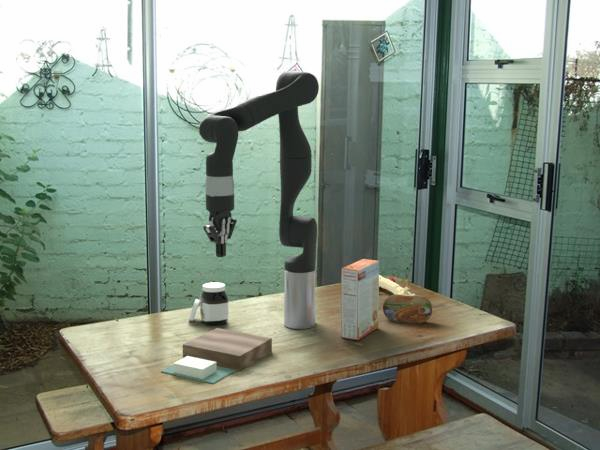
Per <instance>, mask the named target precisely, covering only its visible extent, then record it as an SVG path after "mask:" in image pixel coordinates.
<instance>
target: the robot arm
mask: <svg viewBox="0 0 600 450" xmlns="http://www.w3.org/2000/svg"><path fill="white" fill-rule="evenodd" d="M319 85H320V84H319V81H318V78H317V77H316V76H315V75H314V74H313V73H311V72H306V71H294V70H293V71H292V70H291V71H290V70H289V71H288V70H287V71H283V72H281V73H280V74H279V75H278V77H277V80H276V85H275V91H272V92H269V93H265V94H260V95H256V96H254V97H251V98H249V99H247V100H244V101H243V102H240V103H238V104H236V105H235V106H233V107H230V108H227V109H223V110H219V111H216V112H214V113H211V114H209V115H207V116H206V117H204V119H202V121H201V122H200V124H199V127H198V128H199V129H198V131H199V132H198V133H199V136H200V137H201V138H202V140H204V141H205V142H207V143H212V144H215V148H214V151H213V152H210V153H208V154H207V155H206V157H205V184H204V185H205V186H204V187H205V190H204V191H205V209H206V211H207V212H209V216H208V224H207V225H205V224H204V225H203V230H204V232H205V234H206V236H207V238H208V239H209V241H210V242H211V243H214V244H215V255H216V257H217V258H224V257H226V255H227V242H228V240H230V239H231V237H232V236H233V233H234V230H235V228H236V224H237V222H238V220H237V219H236V218H233V217H232V214H233V213H232V212H233V211H234V210H235V181H234V164H233V163H234V161H233V160H234V156H235V153H236V148H237V144H238V140H239V132H245V131H247V130H250V129H251V128H253V127H255V126H257V125H259V124H261V123H262V122H264V121H266V120H268V119H270V118H272V117H275V116H277V115H278V117H277V118H278V124H279V125H278V127H279V175H280V208H279V223H278V224H279V225H278V227H279V228H278V236H279V241H280V244H281V245H282V246H283V247H290V248H299V249H300V248H302V253H300V254H298V255H296V256H291V257H288V258H287V259H286V260H285V261H284V292H283V293H284V301H283V302H284V303H283V304H284V312H283V313H284V315H283V316H284V317H283V318H284V319H283V322H284V326H285V327H286V328H288V329H293V330H304V329H305V330H306V329H311V328H313V327H315V325H316V324H315V323H316V295H317V294H316V262H317V261H316V259H317V244H318V243H317V240H318V224H317V221H316V218H314V217H311V216H303V215H302V216H299V215H298V216H297V215H294V208H295V203H296V201H297V198H298V197H299V195H300V194H301V191H302V190H303V188H304V187H305V185H306V184H307V182H308V181H309V179H310V177H311V174H312V148H311V145H310V143H309V140H308V138H307V136H306V134H305V132H304V130H303V127H302V126H301V123H300V119H299V118H300V117H299V107H302V106H305V105H309V104H311V103H313V102H314V101H315V99H316V98H317V96H318V94H319V90H320V86H319Z"/></svg>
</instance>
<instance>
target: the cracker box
mask: <svg viewBox="0 0 600 450" xmlns="http://www.w3.org/2000/svg"><path fill="white" fill-rule="evenodd" d="M340 272H341V273H340V274H341V277H340V278H341V280H340V283H341V286H340V287H341V288H340V289H341V291H340V294H341V296H340V297H341V299H340V301H341V302H340V305H341V312H340V314H341V315H340V316H341V318H340V319H341V322H340V325H341V329H340V330H341V331H340V335H341V336H340V337H341V339H346V340H347V339H348V340H354V341H360V340H361V339H363V338H364V337H366V336H368V335H369V334H370V333H372V332H374V331H375V330H377V329H379V311H380V310H379V307H380V305H379V304H380V303H379V301H380V300H379V299H380V297H379V295H380V287H379V275H380V261H379V260H375V259H368V258H362V259H360V260H358V261H355V262H353V263H351V264H348V265H346V266H344V267H342V268H341V269H340Z"/></svg>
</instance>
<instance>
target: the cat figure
mask: <svg viewBox="0 0 600 450" xmlns="http://www.w3.org/2000/svg"><path fill="white" fill-rule="evenodd" d="M389 278H390V279H389ZM389 278H385V277H383V276H382V275H380V274H379V288H382V289H384V290H385V289H386V291H389V292H390V293H392V295H394V294H401V295H416V294H415V293H412V292H410V289H411V288H412V285H411V281H410V279H405V280H404V284H405V285H406V286H405V287H401V285H399V284H398V283H397V282H396V279H395V278H394V277H393V276H390V275H389Z"/></svg>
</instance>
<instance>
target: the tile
mask: <svg viewBox="0 0 600 450" xmlns="http://www.w3.org/2000/svg"><path fill="white" fill-rule="evenodd" d="M172 365H173V373H178V374H182V375H187V376H191V377H196V378H200V379H204V378H206V377H207V376H209V375H211V374H213V373H215V372H216V371H217V364H216V362H214V361H209V360H205V359H200V358H195V357H190V356H186V357H184V358H183V357H182V358H180V359H179V360H177V361H175V362H173V363H172Z"/></svg>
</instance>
